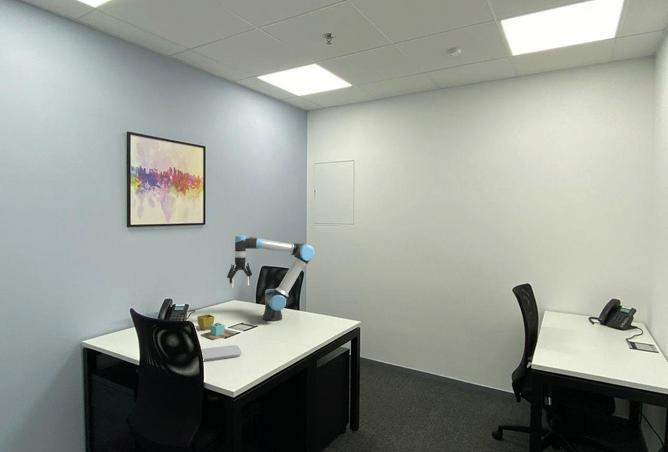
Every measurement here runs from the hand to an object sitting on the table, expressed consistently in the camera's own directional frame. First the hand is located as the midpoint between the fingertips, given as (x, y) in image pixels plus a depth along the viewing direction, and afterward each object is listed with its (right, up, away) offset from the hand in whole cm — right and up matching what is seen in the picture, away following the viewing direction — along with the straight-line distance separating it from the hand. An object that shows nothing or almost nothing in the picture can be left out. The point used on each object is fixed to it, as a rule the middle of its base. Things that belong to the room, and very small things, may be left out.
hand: (239, 286), depth 274 cm
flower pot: (-22, -29, -8) cm, 37 cm away
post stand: (-10, -29, -20) cm, 37 cm away
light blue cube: (-10, -28, -20) cm, 36 cm away
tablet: (+1, -31, -56) cm, 64 cm away
